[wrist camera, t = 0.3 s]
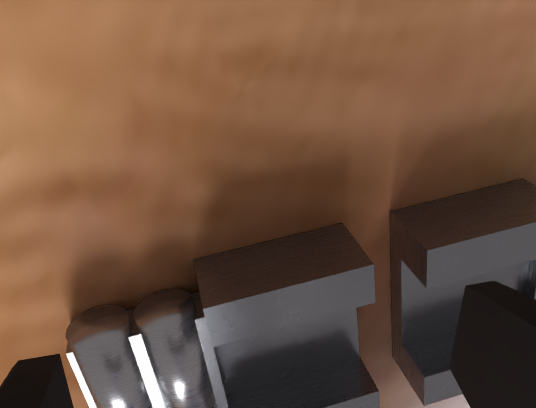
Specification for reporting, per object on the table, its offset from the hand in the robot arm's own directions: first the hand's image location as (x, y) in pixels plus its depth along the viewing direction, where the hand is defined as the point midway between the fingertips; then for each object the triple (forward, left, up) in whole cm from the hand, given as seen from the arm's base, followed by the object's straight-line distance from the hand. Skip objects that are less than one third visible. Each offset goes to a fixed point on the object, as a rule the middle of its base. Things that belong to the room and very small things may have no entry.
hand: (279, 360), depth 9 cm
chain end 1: (-8, +1, -10) cm, 13 cm away
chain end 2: (-8, -12, -10) cm, 18 cm away
